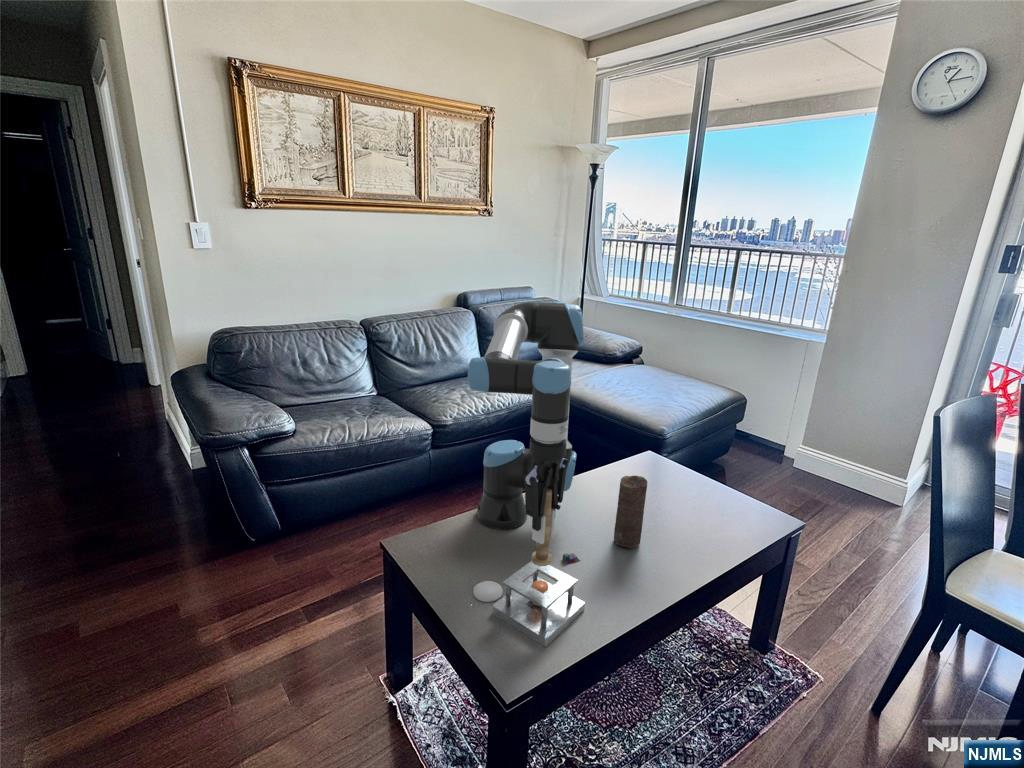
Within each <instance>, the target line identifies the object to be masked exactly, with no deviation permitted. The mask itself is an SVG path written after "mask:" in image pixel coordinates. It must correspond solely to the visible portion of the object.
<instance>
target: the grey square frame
mask: <svg viewBox="0 0 1024 768" xmlns="http://www.w3.org/2000/svg"><path fill="white" fill-rule="evenodd" d="M539 574H542V575H545V576H546V577H548V578H550V579H551V580H553V581H555V582H556V583H554V584H552V583H550V582H549V581H546V580H545V579H543V578H541V577H539ZM537 580H542V581H545V582H546V583H547V584H548V590H547V591H546V592H545V593H541V592H539V591H537V590H536V589H534V588H532V584H533V582H535V581H537ZM578 581H579V579H577V578H575V577H573V576H571V575H569V574H568V573H566V572H563V571H562V570H559V569H558V568H556V567H554V566H552V565H550V564H549V565H547V566H538V565H535V564H534V563H533V562H532V560H531V561H529V562H528V563H527V564H525V565H524V566H523V567H521V568H520V569H518V570H517V571H516V572H515V573H513V574H511V575H510V576H509V577H507V578H506V579H505V580H504V581H502V585H503V586H504V587H505V595H504V596H503V597H502V598H500V599H498V600H497V601H496V602H495V603H493V604H492V611H491V612H492V614H494V615H495V616H497V617H498V618H500V619H501V620H503V621H505V623H508V624H509V625H510V626H512V627H513V628H515V629H516V630H518V631H519V632H521V633H523V634H524V635H526V636H527V637H529V638H530V639H532V640H534V641H535V642H537V643H538V644H540V645H541V646H543V647H545V648H546V647H547V646H549V645H550V644H551V643H552V642H553V641H554V640H555V639H556V638H557V637H558V636H559V635H560V634H561V633H562V632H563V631H564V630H565V629H566V628H567V627H568V626H569V625H571V623H573V621H575V619H576V618H577V617H578V616H579V615H581V614H582V613H583V612H584V610H585V608H586V607H585V605H586V602H585V601H583V600H581V599H579V598H577V597H576V596H574V589H575V588H574V587H575V585H577V583H578ZM532 602H533V603H535V604H537V605H538V606H537V605H536V606H537V607H541V613H540V612H538V611H536V609H533V608H531V607H533V605H535V604H533V603H532Z"/></svg>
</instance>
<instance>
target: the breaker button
mask: <svg viewBox="0 0 1024 768" xmlns="http://www.w3.org/2000/svg"><path fill="white" fill-rule="evenodd" d="M545 581H546V580H545ZM545 581H542V580H537V581H535V582H533V584H532V588H534V589H536V590H537V591H539V592H541V593H545V592H546V591H547V590H548V584H547V583H546V582H545ZM532 603H533V602H532ZM533 605H535V606H537V607H539V606H538V605H537V604H535V603H533Z"/></svg>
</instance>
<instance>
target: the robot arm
mask: <svg viewBox="0 0 1024 768" xmlns="http://www.w3.org/2000/svg"><path fill="white" fill-rule="evenodd" d="M584 342H585V341H584V321H583V312H582V308H581V307H580V305H577V304H573V303H565V302H561V303H560V302H559V303H558V302H539V301H537V302H536V301H535V302H534V301H525V302H524V301H523V302H521V303H517V304H515V305H512V306H511V307H509V308H507V309H504V310H503V311H502V312H501V313H500V314H499V315H498V317H497V318H496V319H495V322H494V324H493V336H492V338H491V341H490V342H489V346H488V347H487V350H486V352H485V354H484V356H479V357H472V358H471V359H470V360H469V364H468V370H467V385H468V387H469V389H470V390H472V391H474V392H482V393H483V392H484V393H485V394H486V393H493V394H494V393H497V394H515V395H517V394H518V395H527V396H528V395H529V396H531V413H530V414H531V416H530V426H529V427H530V429H529V435H530V436H531V437H530V438H529V448H525V445H524V443H523V442H521V441H518V440H515V439H505V440H499V441H495V442H493V443H491V444H489V445H488V446H487V447H486V448H485V450H484V454H483V461H482V464H483V485H482V486H483V491H482V492H483V493H482V494H481V498H480V500H479V503H478V505H477V508H476V509H477V510H476V517H477V520H478V521H479V523H481V524H482V525H484V526H485V527H487V528H490V529H493V530H511V529H515V528H518V527H520V526H522V525H523V524H525V522H526V521H527V518H528V516H530V517H531V518H532V521H531V524H532V525H531V528H532V534H531V535H532V536H531V540H532V541H535V543H536V542H538V543H540V544H544V538H545V521H546V516H545V515H543V513H544V506H545V499H546V492H547V488H550V489H551V490H552V502H551V519H550V535H549V538H550V539H551V538H552V539H553V537H554V534H555V519H556V510H558V511H559V510H560V509H561V505H559V504H561V503H562V502H563V499H564V494H565V492H567V491H569V490H570V488H571V486H572V482H573V479H574V476H575V475H574V474H575V469H576V468H575V467H576V461H577V453H576V451H575V450H573V445H572V444H571V442H570V441H569V440H568V433H569V431H568V430H569V419H570V418H569V416H570V400H571V399H570V397H571V385H572V368H573V357H574V356H575V355H577V353H578V352H579V347H581V346H583V345H584V344H585V343H584ZM522 343H529V344H530V343H531V344H537V351H538V352H539V353H540V354H541V356H542V357H541V359H542V360H530V359H529V360H528V359H518V357H519V353H520V350H521V346H522ZM523 489H524V495H523ZM524 498H525V499H524Z"/></svg>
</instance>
